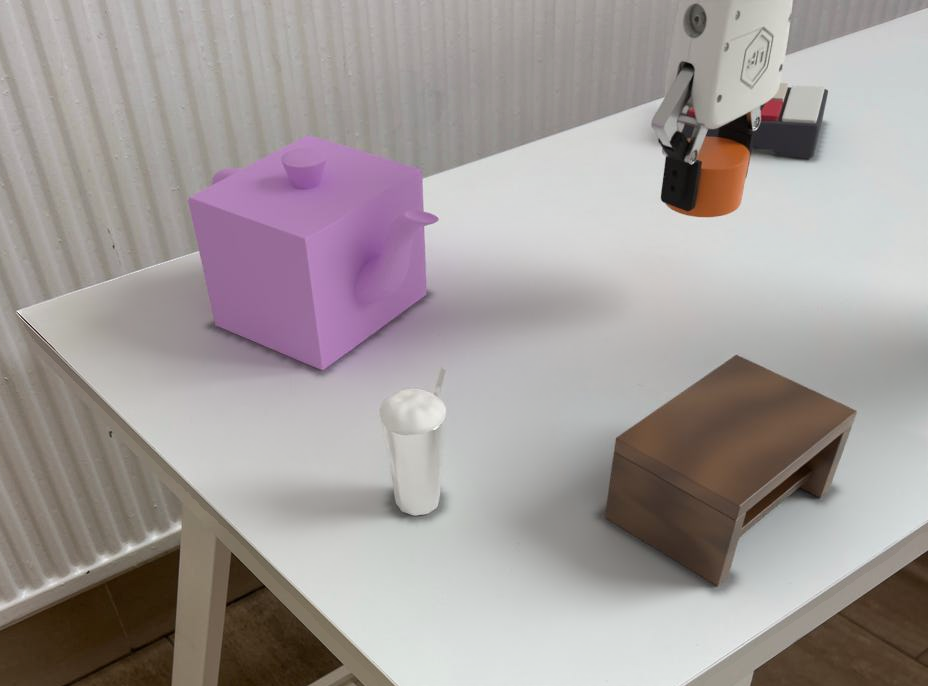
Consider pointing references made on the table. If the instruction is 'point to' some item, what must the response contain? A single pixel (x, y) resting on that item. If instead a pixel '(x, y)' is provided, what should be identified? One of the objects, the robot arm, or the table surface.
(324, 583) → the table surface
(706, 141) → the orange cylinder puck
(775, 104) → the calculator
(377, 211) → the teapot
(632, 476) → the brown wooden step stool
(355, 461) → the table surface
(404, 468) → the milkshake
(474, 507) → the table surface
